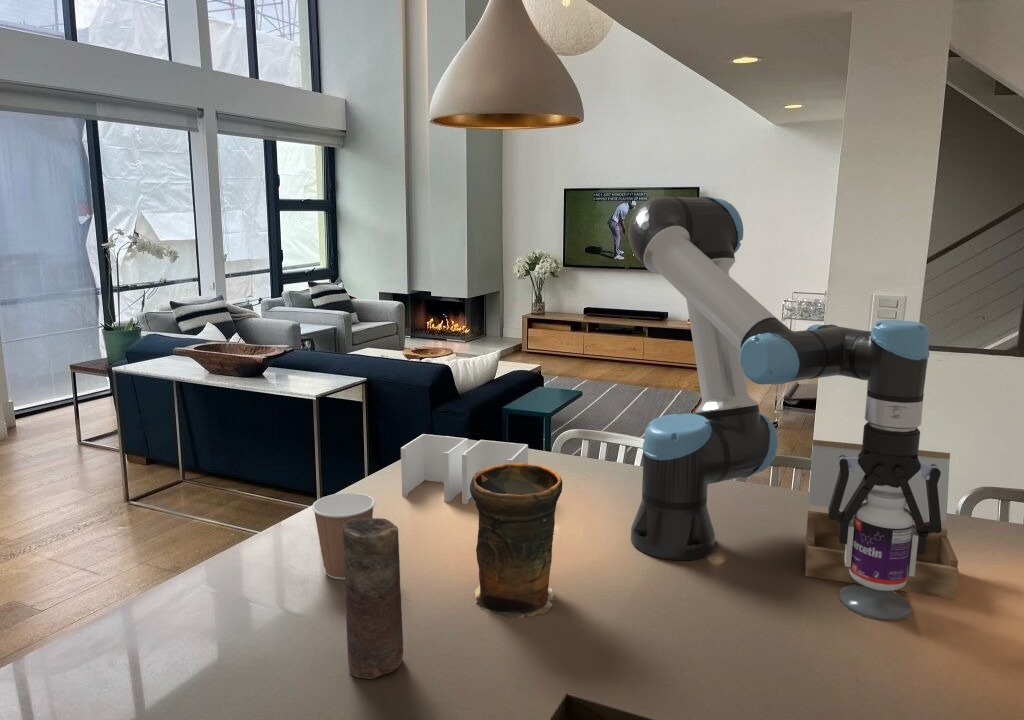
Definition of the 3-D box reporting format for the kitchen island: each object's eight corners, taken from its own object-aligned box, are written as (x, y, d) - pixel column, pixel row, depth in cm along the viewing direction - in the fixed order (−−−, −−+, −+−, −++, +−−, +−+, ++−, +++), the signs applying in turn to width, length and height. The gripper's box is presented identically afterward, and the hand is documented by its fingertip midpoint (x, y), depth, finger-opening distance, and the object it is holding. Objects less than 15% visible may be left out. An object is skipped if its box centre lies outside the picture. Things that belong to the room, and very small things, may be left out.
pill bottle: (837, 573, 118) (844, 486, 116) (877, 566, 121) (885, 481, 118) (876, 597, 111) (885, 505, 108) (918, 589, 113) (928, 499, 111)
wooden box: (805, 575, 126) (808, 536, 124) (805, 546, 137) (808, 510, 135) (954, 599, 118) (960, 557, 117) (941, 566, 129) (946, 528, 128)
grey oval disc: (840, 612, 114) (841, 609, 114) (838, 583, 123) (838, 580, 123) (914, 625, 110) (915, 621, 110) (906, 594, 119) (906, 590, 119)
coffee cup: (389, 563, 130) (387, 498, 128) (352, 589, 121) (350, 519, 118) (340, 552, 134) (338, 488, 132) (302, 576, 125) (298, 509, 123)
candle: (352, 649, 104) (346, 513, 100) (405, 647, 105) (401, 512, 101) (344, 683, 96) (338, 537, 93) (401, 680, 97) (397, 535, 93)
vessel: (572, 581, 123) (573, 466, 119) (547, 627, 110) (547, 499, 106) (490, 568, 128) (488, 457, 124) (457, 611, 115) (454, 488, 111)
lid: (813, 439, 137) (812, 439, 138) (808, 504, 136) (808, 504, 136) (950, 453, 129) (949, 453, 130) (946, 522, 128) (945, 521, 129)
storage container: (527, 492, 164) (528, 444, 162) (511, 511, 154) (512, 459, 152) (423, 480, 172) (422, 434, 170) (402, 496, 161) (400, 447, 159)
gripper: (816, 424, 111) (806, 567, 116) (978, 438, 104) (960, 590, 108) (816, 412, 118) (805, 547, 123) (967, 425, 111) (951, 568, 115)
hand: (878, 567), depth 115 cm, fingers closed on pill bottle, 8 cm apart
